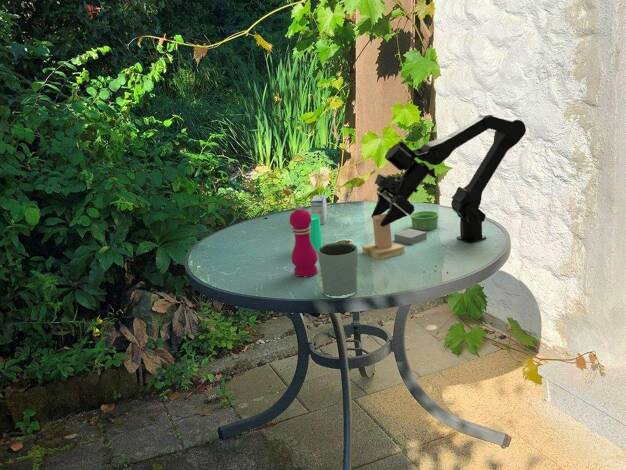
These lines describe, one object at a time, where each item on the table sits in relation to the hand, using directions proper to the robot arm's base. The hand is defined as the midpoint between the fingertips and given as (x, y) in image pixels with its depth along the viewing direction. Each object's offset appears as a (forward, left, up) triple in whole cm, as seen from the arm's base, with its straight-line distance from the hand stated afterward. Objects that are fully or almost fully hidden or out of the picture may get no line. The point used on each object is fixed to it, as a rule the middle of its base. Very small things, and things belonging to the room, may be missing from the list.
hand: (376, 221), depth 198 cm
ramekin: (+13, -25, -10) cm, 30 cm away
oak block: (0, -1, -10) cm, 10 cm away
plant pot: (-20, +24, -10) cm, 33 cm away
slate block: (+5, -14, -10) cm, 18 cm away
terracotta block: (0, -2, -8) cm, 8 cm away
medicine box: (+44, -2, -10) cm, 45 cm away
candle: (+17, +14, -10) cm, 24 cm away
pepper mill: (-1, +25, -10) cm, 27 cm away
